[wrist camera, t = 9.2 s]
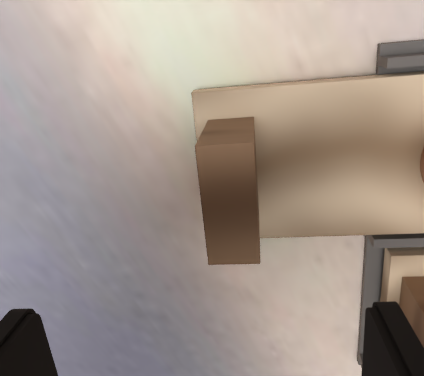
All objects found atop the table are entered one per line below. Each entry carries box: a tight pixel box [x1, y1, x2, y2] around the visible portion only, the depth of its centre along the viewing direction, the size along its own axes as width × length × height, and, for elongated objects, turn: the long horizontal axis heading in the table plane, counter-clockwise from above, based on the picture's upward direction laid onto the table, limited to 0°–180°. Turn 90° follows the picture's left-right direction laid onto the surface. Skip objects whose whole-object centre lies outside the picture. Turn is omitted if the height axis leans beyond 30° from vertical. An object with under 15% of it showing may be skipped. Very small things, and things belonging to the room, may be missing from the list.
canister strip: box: [191, 71, 424, 265], centre depth 19 cm, size 9×22×6 cm, turn 95°
